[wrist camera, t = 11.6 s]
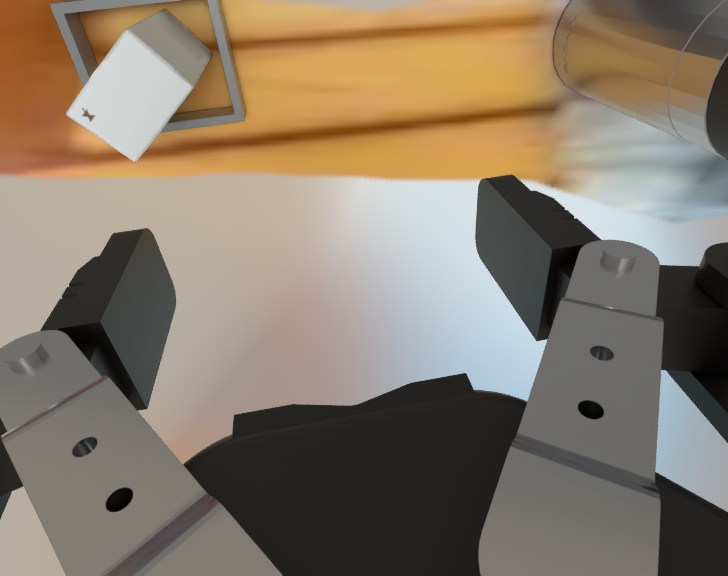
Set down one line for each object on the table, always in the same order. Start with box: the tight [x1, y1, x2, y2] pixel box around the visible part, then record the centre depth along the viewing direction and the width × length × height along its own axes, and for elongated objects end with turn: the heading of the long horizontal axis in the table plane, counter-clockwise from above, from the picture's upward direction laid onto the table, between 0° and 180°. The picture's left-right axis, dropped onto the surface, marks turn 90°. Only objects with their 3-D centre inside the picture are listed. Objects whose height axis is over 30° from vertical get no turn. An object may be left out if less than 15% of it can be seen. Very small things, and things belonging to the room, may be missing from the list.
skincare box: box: [66, 9, 213, 162], centre depth 31 cm, size 6×4×12 cm
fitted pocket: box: [50, 0, 246, 133], centre depth 34 cm, size 10×9×2 cm
